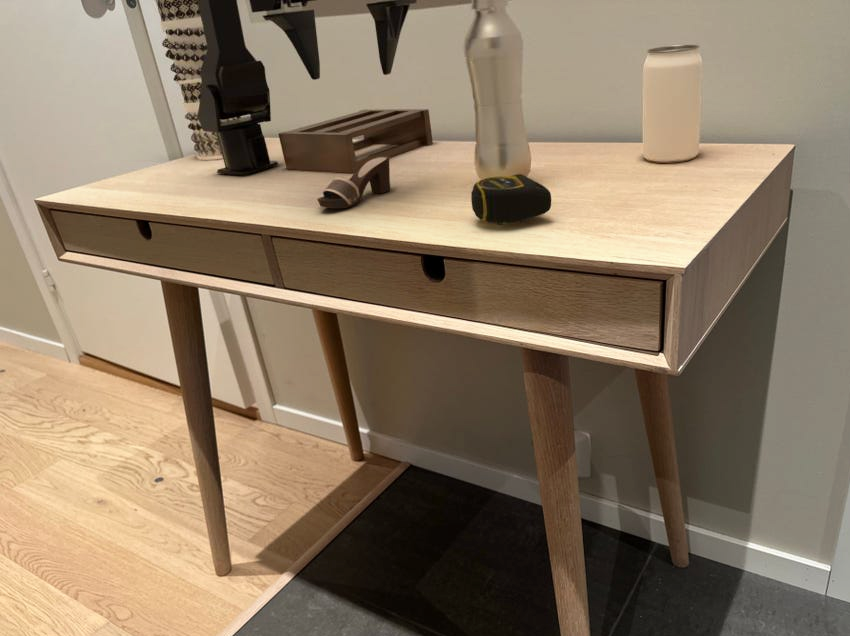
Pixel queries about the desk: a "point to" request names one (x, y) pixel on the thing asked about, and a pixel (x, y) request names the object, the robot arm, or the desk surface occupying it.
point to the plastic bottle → (497, 91)
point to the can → (672, 103)
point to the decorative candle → (189, 66)
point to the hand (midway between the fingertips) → (350, 76)
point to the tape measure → (509, 199)
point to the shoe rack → (333, 138)
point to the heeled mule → (357, 184)
